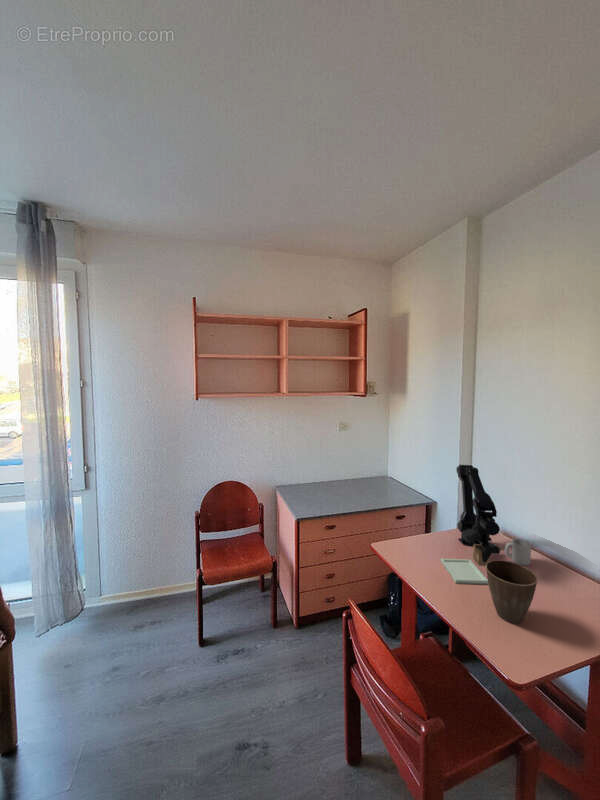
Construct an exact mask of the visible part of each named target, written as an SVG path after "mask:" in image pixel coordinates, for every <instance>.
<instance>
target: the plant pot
mask: <svg viewBox="0 0 600 800" xmlns="http://www.w3.org/2000/svg"><path fill="white" fill-rule="evenodd" d="M485 571H486V576H487V577H486V578H487V579H488V584H489V585H488V588H489V593H490V595H491V596H490V597H491V599H492V601H493V605H494V609H495V611H496V614H497V615H498V616H499V618H501V619H502V621H505V622H507V623H510V624H520V623H522V621H523V620H524V618H525V617H526V615H527V613H528V611H529V609H530V606H531V605H532V602H533V600H534V599H533V598H534V595H535V593H536V588H537V584H538V577H537V575H536V574H535V573H534V572H533V571H531V569H528V567H525V566H524V565H520V564H517V563H515V562H513V561H508V560H498V559H497V560H496V559H494V560H490V562H488V563H487V564H486V565H485Z"/></svg>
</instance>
